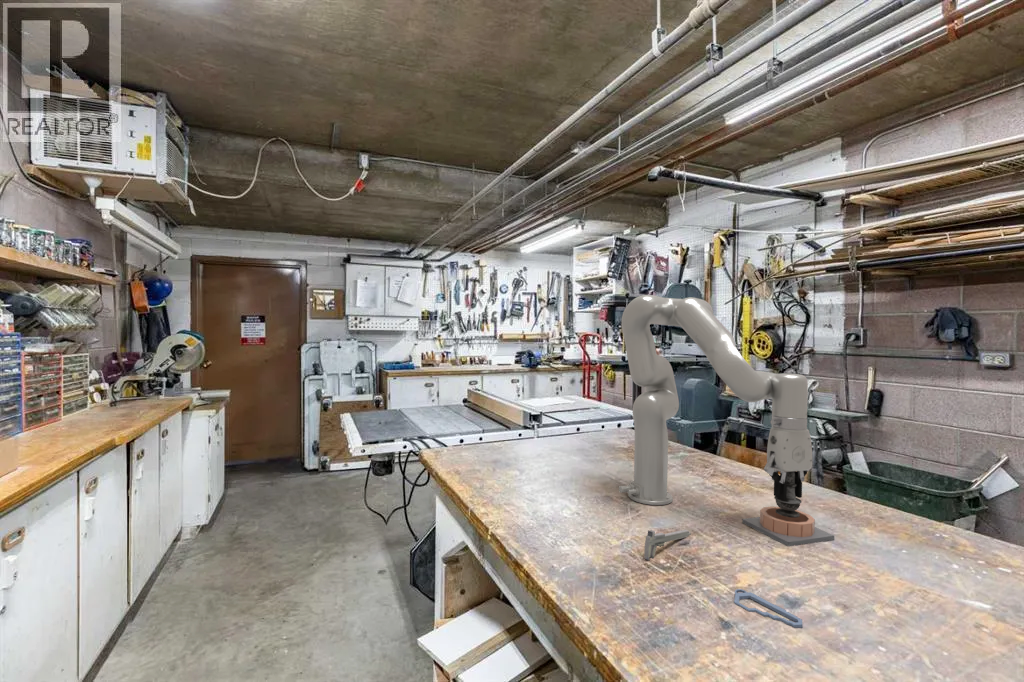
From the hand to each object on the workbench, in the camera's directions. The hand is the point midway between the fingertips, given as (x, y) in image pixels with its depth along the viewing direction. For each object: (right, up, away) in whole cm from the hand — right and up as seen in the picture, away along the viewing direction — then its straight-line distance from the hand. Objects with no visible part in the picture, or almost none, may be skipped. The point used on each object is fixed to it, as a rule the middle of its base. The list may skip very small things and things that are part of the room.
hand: (787, 496), depth 116 cm
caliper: (-33, -9, -9) cm, 35 cm away
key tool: (-24, -9, -34) cm, 43 cm away
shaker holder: (0, -9, 0) cm, 9 cm away
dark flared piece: (0, -5, 0) cm, 5 cm away
